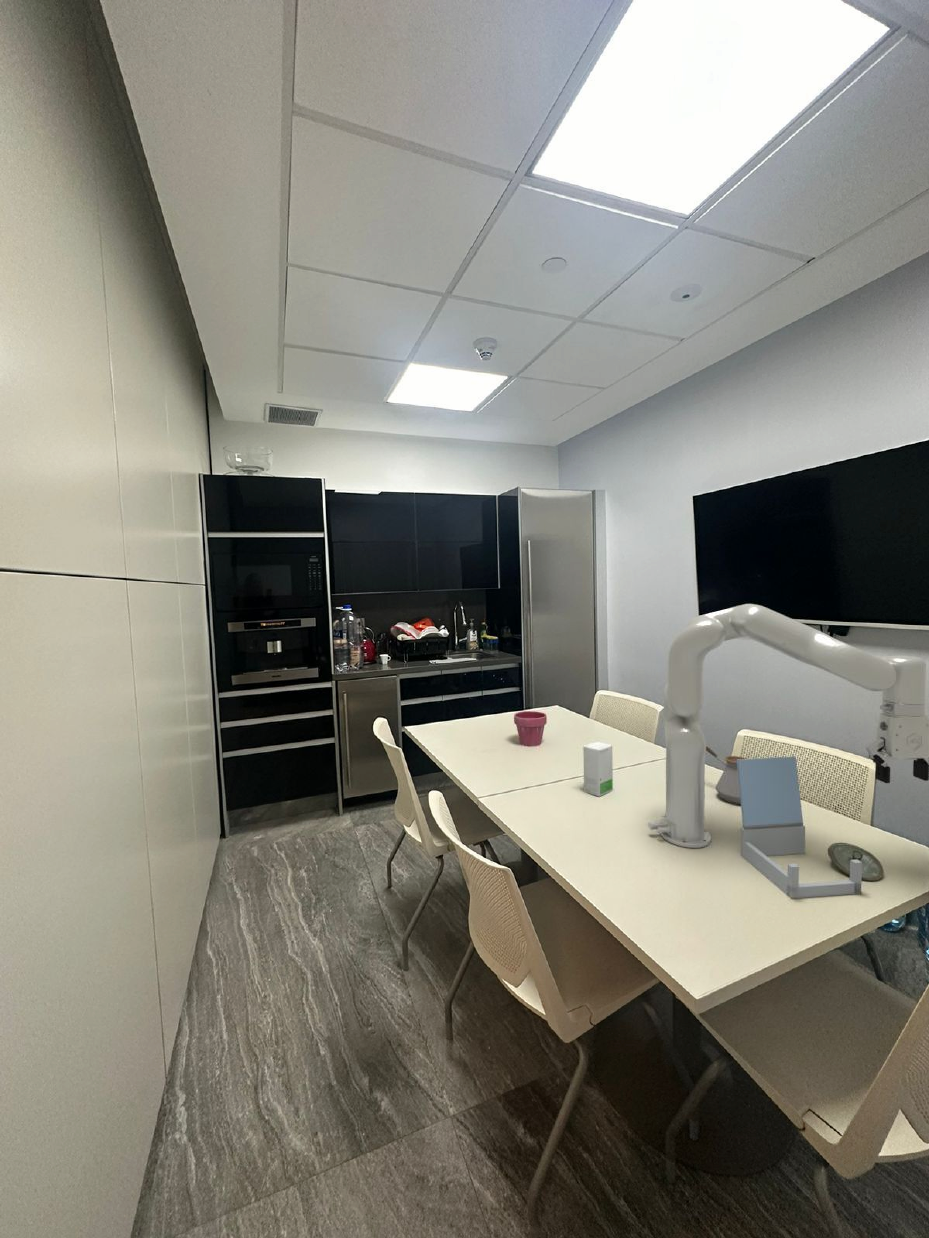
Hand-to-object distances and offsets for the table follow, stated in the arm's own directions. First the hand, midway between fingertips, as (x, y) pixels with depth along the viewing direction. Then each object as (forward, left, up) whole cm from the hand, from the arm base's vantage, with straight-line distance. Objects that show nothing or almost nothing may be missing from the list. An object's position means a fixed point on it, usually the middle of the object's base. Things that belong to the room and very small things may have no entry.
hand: (901, 779), depth 116 cm
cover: (-26, +9, -5) cm, 28 cm away
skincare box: (-56, +51, -21) cm, 78 cm away
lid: (-12, -1, -21) cm, 24 cm away
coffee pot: (-17, +44, -21) cm, 51 cm away
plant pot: (-68, +104, -21) cm, 126 cm away
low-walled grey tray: (-26, 0, -21) cm, 33 cm away
